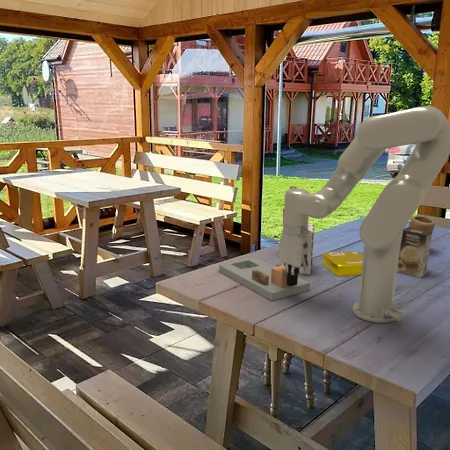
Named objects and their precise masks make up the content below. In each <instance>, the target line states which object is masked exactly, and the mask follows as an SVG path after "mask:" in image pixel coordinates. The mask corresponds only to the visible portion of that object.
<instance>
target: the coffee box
mask: <svg viewBox="0 0 450 450" xmlns="http://www.w3.org/2000/svg"><path fill="white" fill-rule="evenodd" d="M432 236H433V232H430V231H426V230H421V229H417V228H412V227H409V226H407V227H405V228H404V229H403V234H402V239H401V245H400V251H399V259H398V266H397V273H400V274H404V275H409V276H410V277H411V276H412V277H416V278H419V279H421V278H422V277H424V276H425V275H426V274H427V271H428V264H429V258H430V252H431V244H432V238H433V237H432Z"/></svg>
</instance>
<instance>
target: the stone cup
mask: <svg viewBox="0 0 450 450" xmlns="http://www.w3.org/2000/svg"><path fill="white" fill-rule="evenodd" d="M408 224H409V225H408V227H412V228H417V229H421V230H426V231H430V232H432V233H433V232H434V228H435V224H436V223H435V221H434V220H433V219H431V218H429V217H428V216H424V215H420V214H419V215H417V214H416V215H413V216H412V218H411V219H410V221H409V222H408Z"/></svg>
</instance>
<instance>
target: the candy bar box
mask: <svg viewBox="0 0 450 450" xmlns="http://www.w3.org/2000/svg"><path fill="white" fill-rule="evenodd" d="M308 230H309V233H308V234H307V235H309V238H310V248H311V257H310V265H309V266H306V272H300V273H299V274H298V275H308V276H311V275H312V270H313V257H314V256H313V255H314V239H315V238H314V236H315V223H309V222H308Z"/></svg>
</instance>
